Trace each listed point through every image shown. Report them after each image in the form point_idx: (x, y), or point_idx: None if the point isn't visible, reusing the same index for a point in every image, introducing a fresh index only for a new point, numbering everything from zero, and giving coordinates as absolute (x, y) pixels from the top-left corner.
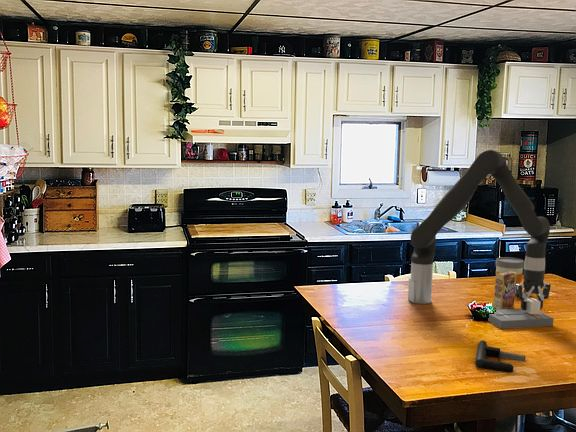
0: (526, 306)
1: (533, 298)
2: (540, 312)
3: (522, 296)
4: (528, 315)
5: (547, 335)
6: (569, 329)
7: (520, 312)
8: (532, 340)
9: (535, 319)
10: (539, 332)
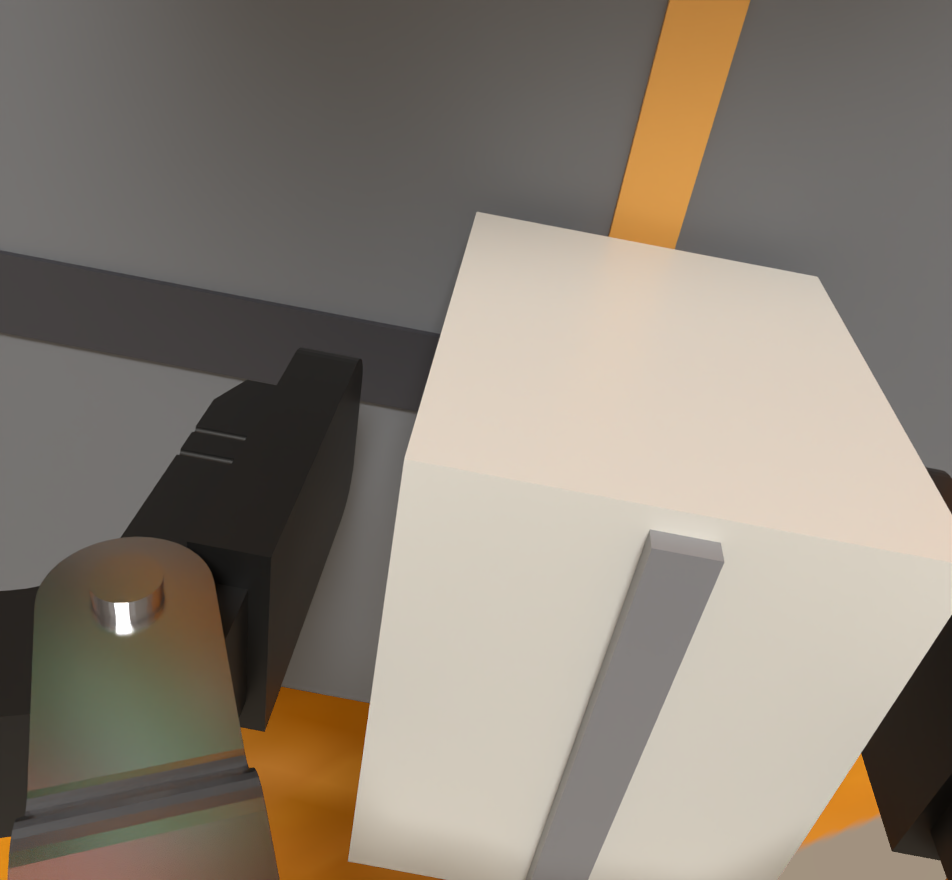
0: (311, 589)
1: (909, 627)
2: (948, 420)
3: (73, 731)
4: (387, 497)
5: (304, 834)
6: (830, 815)
7: (357, 221)
8: (8, 857)
9: (358, 695)
10: (275, 747)
